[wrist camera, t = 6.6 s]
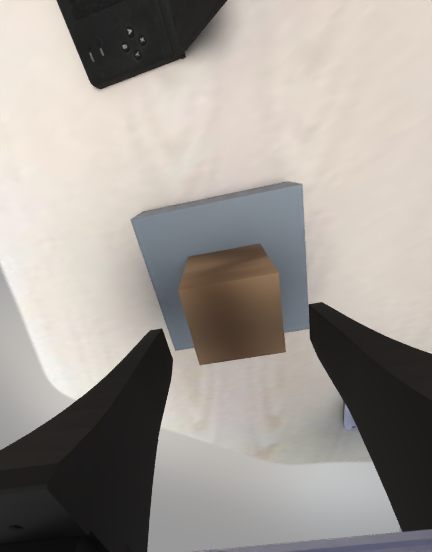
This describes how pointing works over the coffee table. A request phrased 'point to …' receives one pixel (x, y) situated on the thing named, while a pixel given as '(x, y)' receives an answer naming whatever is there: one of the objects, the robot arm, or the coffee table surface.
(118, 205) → the coffee table surface
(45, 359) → the coffee table surface
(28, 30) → the coffee table surface
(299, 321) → the slate block
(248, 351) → the walnut cube
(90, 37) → the handheld gaming console
